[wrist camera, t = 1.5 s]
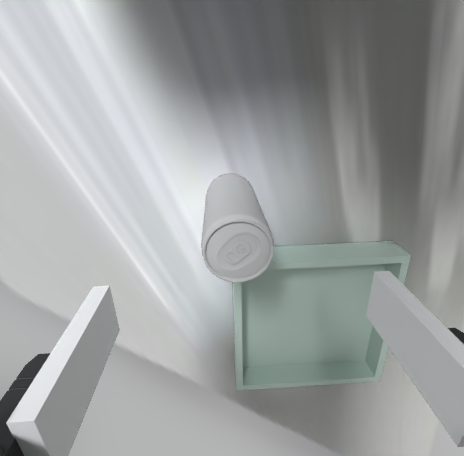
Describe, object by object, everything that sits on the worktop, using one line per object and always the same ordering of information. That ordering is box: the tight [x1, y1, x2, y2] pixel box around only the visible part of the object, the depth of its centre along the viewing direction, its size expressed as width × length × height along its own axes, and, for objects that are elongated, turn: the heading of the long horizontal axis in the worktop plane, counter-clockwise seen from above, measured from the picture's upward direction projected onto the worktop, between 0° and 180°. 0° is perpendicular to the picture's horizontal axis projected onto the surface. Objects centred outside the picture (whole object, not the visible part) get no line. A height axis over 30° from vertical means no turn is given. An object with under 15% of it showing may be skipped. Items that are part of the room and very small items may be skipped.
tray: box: [232, 241, 411, 391], centre depth 35 cm, size 18×18×3 cm
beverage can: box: [201, 174, 273, 282], centre depth 25 cm, size 5×5×12 cm
